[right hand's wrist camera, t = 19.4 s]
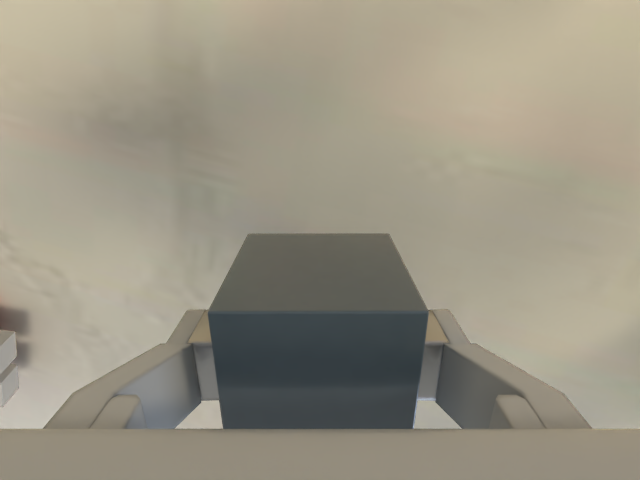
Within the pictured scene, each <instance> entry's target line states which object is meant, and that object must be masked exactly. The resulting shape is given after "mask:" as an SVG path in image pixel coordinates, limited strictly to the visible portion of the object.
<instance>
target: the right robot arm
mask: <svg viewBox="0 0 640 480" xmlns="http://www.w3.org/2000/svg"><path fill="white" fill-rule="evenodd" d="M428 311H429V317H428V325H427V332H426V340H425V347H424V355H423V362H422V370H421V377H420V385H419V392H418V400H434V401H435V402H436V403H437V404H438V405H439V406H440V407H441V408H442V409H443V410H444V411H445V412H446V413H447V414H448V415H449V416H450V417H451V418H452V419H453V420H454V421H455V422H456V423H457V424H458V425H459V426H460V427H461V428H462V429H174V428H175V427H176V426H177V425H178V424H180V423H181V422H182V421H183V420H184V419H185V418H186V417H187V416H188V415H189V414H190V413H191V412H192V411H193V410H194V409H195V408H196V407H197V406H198V405H199V404H200V403H201V401H203V400H219V395H218V388H217V380H216V373H215V365H214V358H213V351H212V343H211V336H210V329H209V321H208V314H207V313H208V310H205V309H199V310H188V311H186V313H185V314H184V316H183V317H182V319H181V321H180V322H179V324H178V325H177V327H176V328H175V330H174V332H173V333H172V335H171V336H170V338H169V340H168V341H167V343H166V344H159V345H157V346H156V347H154V348H152V349H150V350H149V351H147V352H145V353H143V354H141V355H140V356H138V357H136V358H134V359H133V360H131V361H129V362H127V363H125V364H124V365H122V366H120V367H118V368H117V369H115V370H113V371H111V372H109V373H108V374H106V375H104V376H102V377H101V378H99V379H97V380H95V381H93V382H92V383H90V384H88V385H86V386H85V387H83V388H81V389H79V390H77V391H76V392H74V393H72V395H71V396H70V397H69V398H68V399H67V401H66V402H65V403H64V404H63V405H62V406H61V408H60V409H59V410H58V411H57V412H56V414H55V415H54V416H53V417H52V418H51V420H50V421H49V422H48V423H47V424H46V425H45V427H44V428H43V429H0V480H640V429H592V427H591V426H590V425H589V424H588V423H587V421H586V420H585V419H584V418H583V417H582V415H581V414H580V413H579V412H578V410H577V409H576V408H575V407H574V406H573V404H572V403H571V402H570V401H569V400H568V398H567V397H566V396H565V395H564V394H563V393H562V392H560V391H558V390H556V389H555V388H553V387H551V386H549V385H548V384H546V383H544V382H542V381H540V380H539V379H537V378H535V377H533V376H532V375H530V374H528V373H526V372H525V371H523V370H521V369H519V368H518V367H516V366H514V365H512V364H511V363H509V362H507V361H505V360H504V359H502V358H500V357H498V356H497V355H495V354H493V353H491V352H490V351H488V350H486V349H484V348H483V347H481V346H479V345H477V344H471V343H470V342H469V340H468V339H467V337H466V335H465V334H464V332H463V331H462V329H461V327H460V326H459V324H458V323H457V321H456V319H455V318H454V316H453V315H452V313H451V312H450V311H449V310H448V309H441V310H428Z"/></svg>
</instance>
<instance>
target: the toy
mask: <svg viewBox="0 0 640 480" xmlns="http://www.w3.org/2000/svg"><path fill="white" fill-rule="evenodd" d="M16 357H17V347H16V331H9V330H0V407H4V406H5V404H6V403H7V402H8V401H9V399H10V398H11V397H12V396H13V395H14V393H15V392H16V391H17V390H18V388H19V382H18V365H13V364H10V363H11V362H12V361H13V360H14V359H15V358H16Z"/></svg>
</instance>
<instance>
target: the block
mask: <svg viewBox="0 0 640 480" xmlns="http://www.w3.org/2000/svg"><path fill="white" fill-rule="evenodd" d="M207 314H208V321H209V329H210V336H211V343H212V351H213V358H214V365H215V373H216V380H217V388H218V395H219V402H220V410H221V417H222V424H223V429H414V422H415V415H416V407H417V400H418V392H419V385H420V377H421V370H422V362H423V355H424V347H425V340H426V332H427V325H428V317H429V311H428V309H427V307H426V305H425V303H424V301H423V299H422V297H421V296H420V294H419V292H418V290H417V288H416V286H415V284H414V282H413V280H412V278H411V276H410V274H409V272H408V270H407V268H406V266H405V264H404V262H403V260H402V258H401V256H400V254H399V252H398V250H397V249H396V247H395V245H394V243H393V241H392V239H391V237H390V235H389V234H248V235H247V237H246V239H245V241H244V243H243V245H242V247H241V249H240V251H239V253H238V255H237V256H236V258H235V260H234V262H233V264H232V266H231V268H230V270H229V272H228V274H227V276H226V278H225V279H224V281H223V283H222V285H221V287H220V289H219V291H218V293H217V295H216V297H215V299H214V301H213V303H212V304H211V306H210V308H209V310H208V313H207Z"/></svg>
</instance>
